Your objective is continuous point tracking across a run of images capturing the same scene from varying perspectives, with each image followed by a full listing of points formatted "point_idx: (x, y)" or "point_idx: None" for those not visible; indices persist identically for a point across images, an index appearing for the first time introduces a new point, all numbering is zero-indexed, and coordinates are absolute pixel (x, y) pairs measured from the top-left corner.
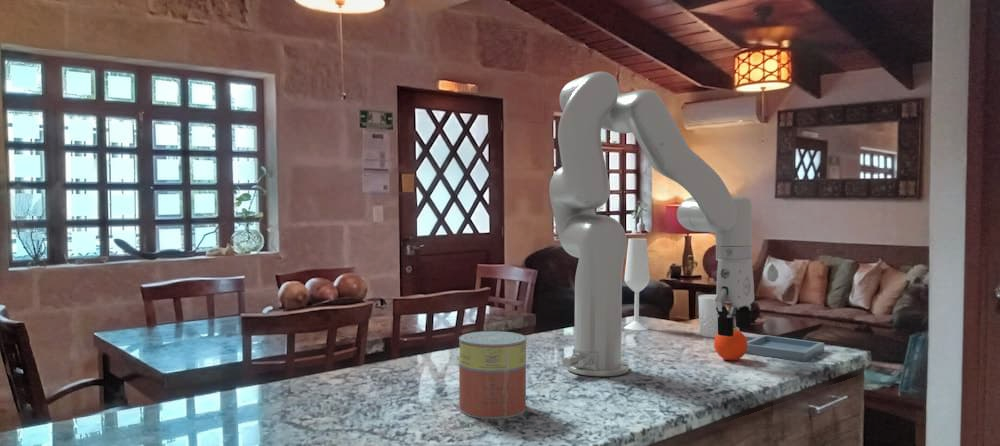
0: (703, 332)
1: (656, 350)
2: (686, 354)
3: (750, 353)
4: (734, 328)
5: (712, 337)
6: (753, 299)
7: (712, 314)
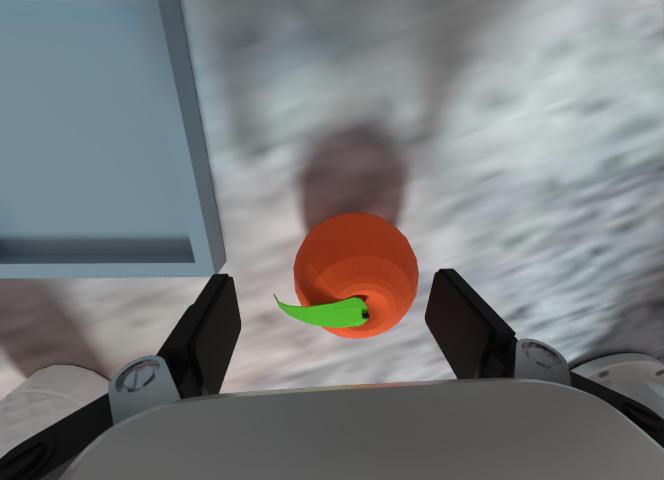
0: None
1: None
2: (357, 347)
3: (219, 232)
4: (334, 308)
5: (109, 382)
6: (137, 435)
7: None
